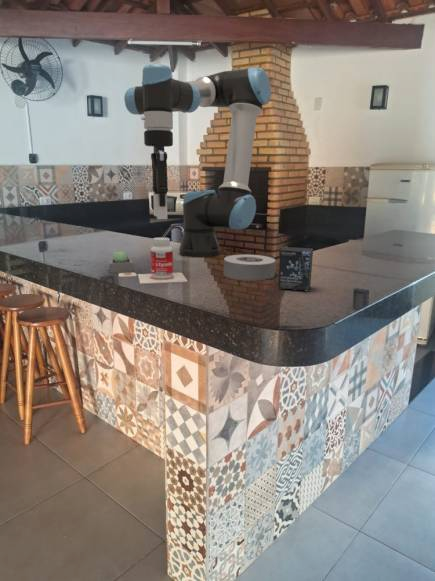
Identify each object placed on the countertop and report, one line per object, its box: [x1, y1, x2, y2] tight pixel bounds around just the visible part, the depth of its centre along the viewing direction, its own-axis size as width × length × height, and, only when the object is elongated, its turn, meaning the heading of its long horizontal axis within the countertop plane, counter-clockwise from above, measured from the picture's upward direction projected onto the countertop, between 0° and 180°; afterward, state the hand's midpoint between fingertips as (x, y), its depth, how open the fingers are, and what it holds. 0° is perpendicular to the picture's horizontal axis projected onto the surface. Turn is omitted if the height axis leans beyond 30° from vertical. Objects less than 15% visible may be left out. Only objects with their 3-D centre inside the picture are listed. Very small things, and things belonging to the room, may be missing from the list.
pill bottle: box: [150, 237, 174, 279], centre depth 125 cm, size 6×6×11 cm
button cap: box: [113, 250, 129, 263], centre depth 135 cm, size 4×4×4 cm
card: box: [118, 272, 137, 278], centre depth 130 cm, size 5×4×1 cm
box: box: [277, 246, 314, 291], centre depth 115 cm, size 8×6×11 cm
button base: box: [108, 258, 135, 274], centre depth 135 cm, size 7×7×3 cm
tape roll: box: [223, 254, 276, 282], centre depth 131 cm, size 15×15×5 cm
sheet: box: [137, 272, 188, 285], centre depth 126 cm, size 13×11×1 cm
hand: (160, 217), depth 122 cm, fingers open, 8 cm apart
